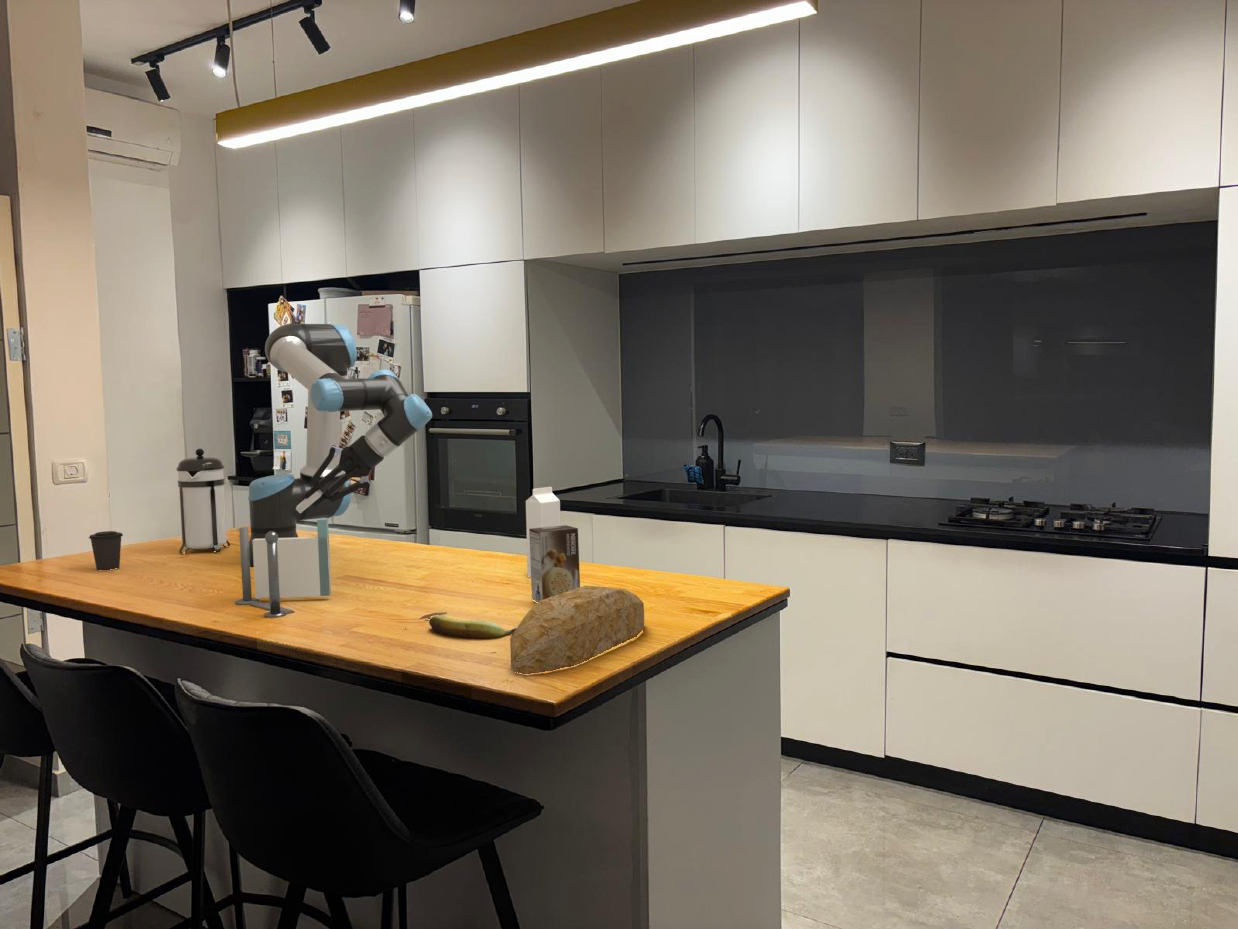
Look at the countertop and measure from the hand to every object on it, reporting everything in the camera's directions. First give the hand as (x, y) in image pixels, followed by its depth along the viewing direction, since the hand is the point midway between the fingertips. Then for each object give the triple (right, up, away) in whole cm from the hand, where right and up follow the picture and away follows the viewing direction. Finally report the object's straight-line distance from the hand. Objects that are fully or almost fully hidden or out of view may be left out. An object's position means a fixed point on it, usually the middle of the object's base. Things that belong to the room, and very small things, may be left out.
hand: (298, 509), depth 225 cm
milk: (+58, -17, +7) cm, 61 cm away
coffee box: (+62, -19, -19) cm, 68 cm away
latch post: (+4, -21, -27) cm, 34 cm away
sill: (-1, -20, -19) cm, 28 cm away
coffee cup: (-60, -17, +27) cm, 68 cm away
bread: (+70, -23, -55) cm, 92 cm away
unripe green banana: (+47, -22, -44) cm, 68 cm away
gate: (+2, -19, -14) cm, 24 cm away
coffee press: (-46, -15, +54) cm, 73 cm away
